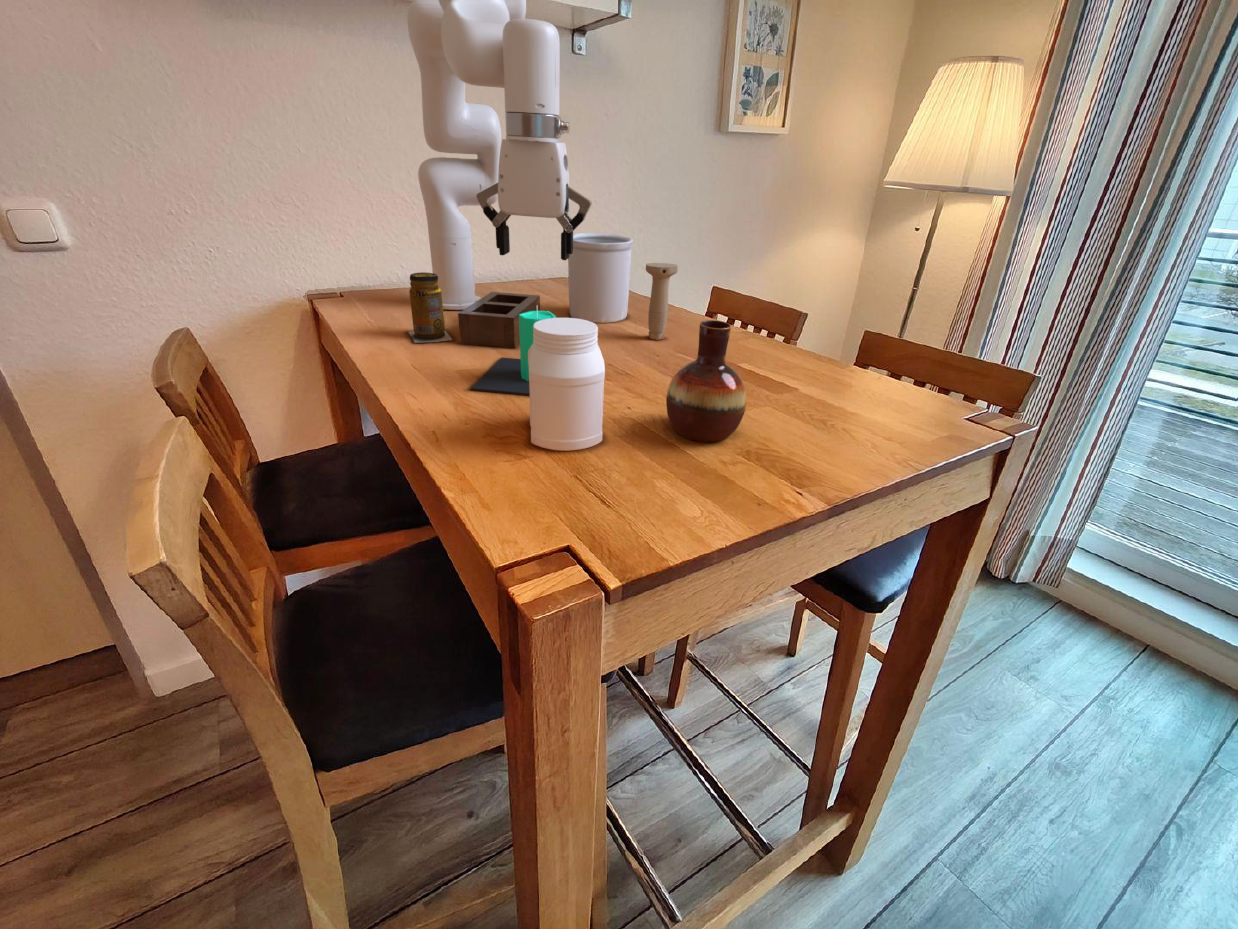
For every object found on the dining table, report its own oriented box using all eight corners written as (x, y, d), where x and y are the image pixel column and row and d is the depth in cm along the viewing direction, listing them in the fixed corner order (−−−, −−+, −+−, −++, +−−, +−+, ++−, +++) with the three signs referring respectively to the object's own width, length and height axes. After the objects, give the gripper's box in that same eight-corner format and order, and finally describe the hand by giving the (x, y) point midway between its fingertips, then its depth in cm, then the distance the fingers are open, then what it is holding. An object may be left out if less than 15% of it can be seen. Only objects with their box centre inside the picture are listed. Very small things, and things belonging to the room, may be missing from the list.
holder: (460, 343, 115) (457, 313, 112) (492, 318, 132) (491, 291, 129) (514, 348, 114) (513, 317, 111) (540, 322, 131) (539, 295, 128)
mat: (470, 390, 94) (470, 387, 93) (501, 359, 108) (501, 357, 107) (581, 400, 92) (581, 398, 92) (597, 367, 106) (597, 365, 106)
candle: (527, 384, 96) (525, 310, 90) (515, 372, 101) (513, 302, 95) (561, 379, 99) (561, 308, 93) (548, 368, 103) (547, 299, 98)
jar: (605, 450, 77) (609, 338, 70) (531, 452, 76) (528, 338, 69) (594, 415, 87) (597, 314, 80) (529, 416, 86) (526, 314, 79)
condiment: (444, 329, 123) (438, 270, 117) (452, 340, 116) (447, 278, 111) (408, 332, 120) (400, 271, 114) (414, 344, 113) (406, 280, 108)
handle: (673, 341, 123) (680, 267, 116) (643, 341, 122) (648, 266, 115) (668, 335, 127) (674, 263, 120) (639, 335, 126) (643, 262, 119)
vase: (651, 419, 87) (659, 315, 79) (716, 411, 90) (730, 311, 83) (684, 452, 78) (697, 338, 70) (756, 442, 81) (775, 333, 74)
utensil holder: (617, 327, 131) (621, 244, 122) (556, 318, 135) (556, 238, 126) (637, 312, 143) (641, 236, 135) (580, 305, 147) (581, 231, 139)
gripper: (597, 133, 85) (593, 256, 93) (482, 126, 87) (488, 248, 95) (588, 132, 78) (585, 265, 87) (464, 125, 80) (472, 256, 88)
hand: (534, 256), depth 91 cm, fingers open, 9 cm apart
